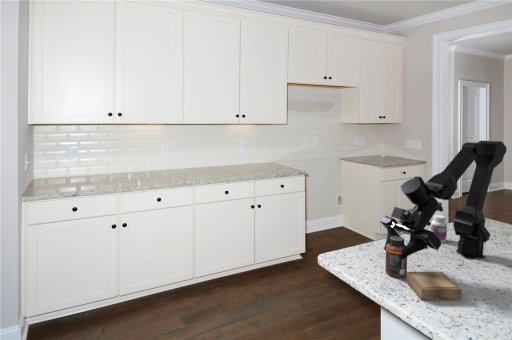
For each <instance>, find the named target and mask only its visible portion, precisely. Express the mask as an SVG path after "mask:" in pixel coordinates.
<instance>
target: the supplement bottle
mask: <svg viewBox="0 0 512 340" xmlns="http://www.w3.org/2000/svg"><path fill="white" fill-rule="evenodd" d="M406 246H407V244H405V238H404V237H402V236H401V237H399V236H392V237H390V243H388V244H387V246H386V251H385V273H386V275H388V276H389V277H393V278H404V277H406V272H408V267H407V266H408V256H407V257H405V258H403V259H402V258H401V257H400V255H401V253H402V251H403V250H404V248H405V247H406Z"/></svg>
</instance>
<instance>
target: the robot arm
mask: <svg viewBox="0 0 512 340" xmlns="http://www.w3.org/2000/svg"><path fill="white" fill-rule="evenodd" d="M506 153H507V146H506V145H505V143H504V142H503V141H500V140H483V139H482V140H479V141H478V142H472V141H467V142H465V143H463V144H462V145H461V148H460V150H459V151H458V153H457V154H455V156H454V157H453V158H452V160H451V161H450V162H449V163H448V164H447V166H445V168H444V169H443V170H442V171H441V172H439V173H436V174H435V175H433V176H432V177H431V178H429V180H428V181H426V182H425V181H424V179H423V177H421V176H418V175H417V176H416V175H415V176H414V177H413V178H411V179H408V180H407V181H405V182H403V184H402V185H401V188H400V190H401V192H402V193H403V195H404V196H406V198H407V199H408V200H409V201H410V202H411V204H413V205H414V206H413V208H409V209H405V208H404V209H403V208H401V207H398V206H394V208H393V210H392V212H391V216H387V215H385V216H383V217H382V218H381V219H380V221H379V222H380V223H381V225H383V226H384V228H385V229H386V230H387V235H386V241H385V243H384V247H383V250H384V251H385V252H386V246H387V244H388V243H390V237H392V236H399V237H402V236H401V235H400V233H403V234H406V235H409V240H408V243H407V244H406V247H405V248H404V250H403V251H402V253H401V255H400V257H401V258H402V259H403V258H405V257H407V258H408V257H409V256H411V255H413V254H416V253H418V252H420V251H423V250H428V249H429V248H430V249H433V250H435V251H439V249H440V248H441V247H442V243H441V241H440V239H439V238H438V237H437V236H436V235H435V233H434V232H432V231H431V230H429V229H426V227H431V222H430V221H431V220H432V218H433V217H434V215H436V212H437V211H438V212H440V213H442V212H443V211H444V208H443V203H442V202H439V201H438V200H442V201H449V200H450V199H452V197H454V194H455V192H456V191H457V189H458V181H459V180H460V179H461V177H462V176H463V175H464V174H465V172H466V171H467V170H468V168H469V167H470V166H471V165H472V163H473V162H474V163H475V169H474V172H473V175H472V179H471V183H470V187H469V190H468V193H467V198H466V201H465V204H464V207H462V208H461V209H457V210H456V211H455V215H454V218H453V220H452V221H453V223H452V225H453V230H454V233H455V235H456V236H459V240H458V241H457V249H456V250H455V251H456V253H458V254H460V255H461V256H462V257H464V258H465V259H486V258H487V256H485V255H484V243H487V242H488V241H489V240H490V238H491V233H490V232H489V231H488V229H487V228H486V227H485V225H486V218H485V216H484V213H483V208H484V205H485V200H486V198H487V195H488V191H489V187H490V184H491V181H492V175H493V173H494V169H496V168H497V166H499V165H500V164H501V163H502V162H503V159H504V157H505V156H506ZM395 218H396V219H398V220H396V219H395Z"/></svg>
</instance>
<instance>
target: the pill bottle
mask: <svg viewBox="0 0 512 340" xmlns="http://www.w3.org/2000/svg"><path fill="white" fill-rule="evenodd" d="M432 218H433V220H432V221H431V222H430V223H431V225H430V231H432V232H434V233H435V235H436V236H437V237H438V238H439V239H440V241H441V244H443V243H445V242H446V241H447V235H448V233H447V232H448V223H447V222H446V220H447V219H446V216H445V215H442V214H441V215H440V214H434V215H433V217H432Z"/></svg>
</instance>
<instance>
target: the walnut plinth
mask: <svg viewBox="0 0 512 340" xmlns="http://www.w3.org/2000/svg"><path fill="white" fill-rule="evenodd" d="M405 283H406V284H407V285H408V286H409V288H410V289H411V290H412V291H413V292H414V294H415V295H416V296H417V297H418V298H419V299H420V301H462V293H463V292H462V288H461V286H459V285H458V284H457V283H455V282H454V281H453V280H452V279H451V278H449V276H447V275H446V274H445V273H444V272H443V271H407V272H406V276H405Z"/></svg>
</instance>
